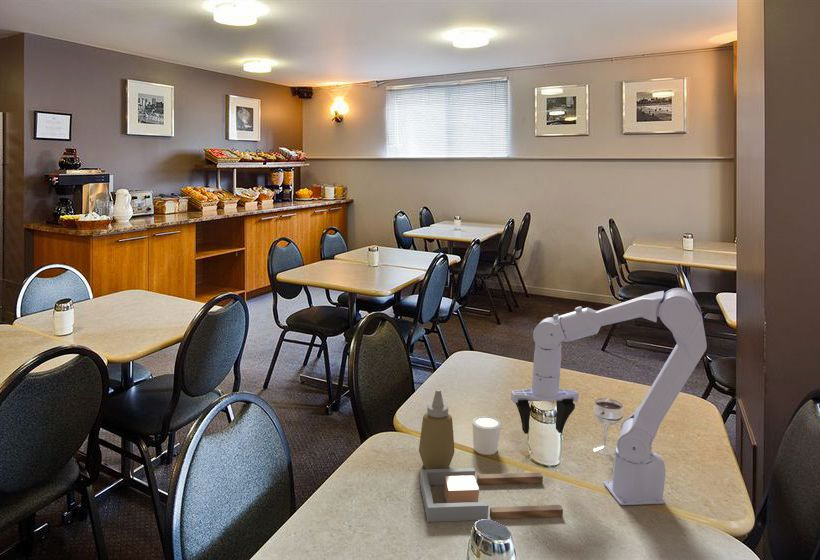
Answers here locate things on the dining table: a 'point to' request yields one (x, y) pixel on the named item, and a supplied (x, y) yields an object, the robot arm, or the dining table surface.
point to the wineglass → (607, 419)
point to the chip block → (461, 489)
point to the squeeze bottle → (437, 435)
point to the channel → (518, 510)
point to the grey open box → (449, 509)
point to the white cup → (486, 434)
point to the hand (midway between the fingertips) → (542, 431)
